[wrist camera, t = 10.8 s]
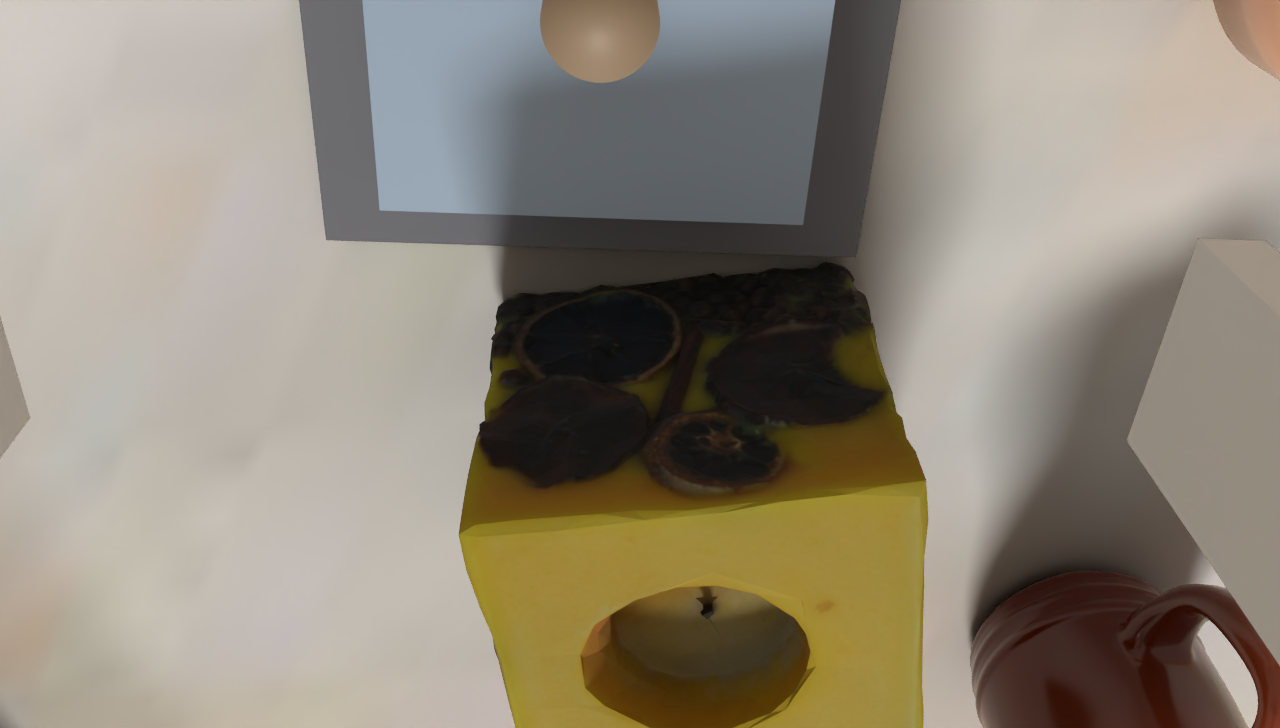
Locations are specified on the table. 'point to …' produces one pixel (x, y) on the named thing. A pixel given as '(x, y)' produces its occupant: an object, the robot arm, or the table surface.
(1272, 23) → the bowl
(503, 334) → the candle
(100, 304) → the table surface
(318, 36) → the mat
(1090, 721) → the mug
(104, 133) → the table surface
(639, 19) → the lid
